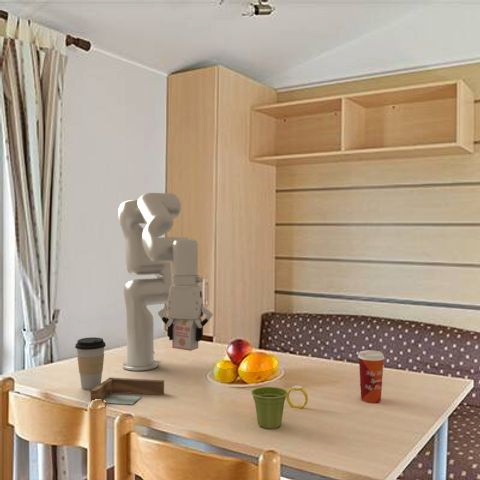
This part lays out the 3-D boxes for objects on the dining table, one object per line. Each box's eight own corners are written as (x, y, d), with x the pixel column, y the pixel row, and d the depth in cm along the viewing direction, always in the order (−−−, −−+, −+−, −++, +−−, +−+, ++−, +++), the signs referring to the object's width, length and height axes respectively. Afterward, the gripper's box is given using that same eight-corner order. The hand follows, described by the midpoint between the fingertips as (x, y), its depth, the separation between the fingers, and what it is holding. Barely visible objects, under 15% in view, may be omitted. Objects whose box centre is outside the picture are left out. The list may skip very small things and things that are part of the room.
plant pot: (249, 419, 150) (249, 386, 150) (284, 417, 151) (284, 385, 151) (253, 432, 141) (253, 398, 140) (290, 431, 142) (290, 397, 141)
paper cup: (369, 405, 161) (369, 357, 160) (352, 398, 167) (352, 351, 167) (390, 401, 164) (390, 354, 164) (372, 394, 171) (373, 348, 170)
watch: (308, 408, 160) (309, 387, 159) (305, 411, 157) (306, 390, 157) (288, 403, 162) (289, 383, 162) (284, 406, 160) (286, 386, 159)
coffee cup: (98, 392, 173) (97, 343, 173) (69, 390, 175) (69, 342, 175) (111, 383, 183) (110, 337, 182) (84, 381, 185) (83, 336, 184)
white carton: (179, 345, 170) (179, 312, 170) (198, 348, 167) (198, 314, 166) (172, 347, 167) (172, 314, 167) (190, 350, 164) (190, 316, 163)
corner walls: (109, 390, 175) (109, 377, 175) (164, 393, 172) (164, 380, 172) (90, 404, 162) (90, 390, 162) (149, 407, 159) (149, 393, 159)
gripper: (216, 280, 168) (216, 338, 169) (161, 278, 171) (161, 336, 172) (210, 283, 161) (210, 344, 162) (152, 281, 164) (153, 341, 165)
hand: (185, 339), depth 167 cm, fingers closed on white carton, 7 cm apart
